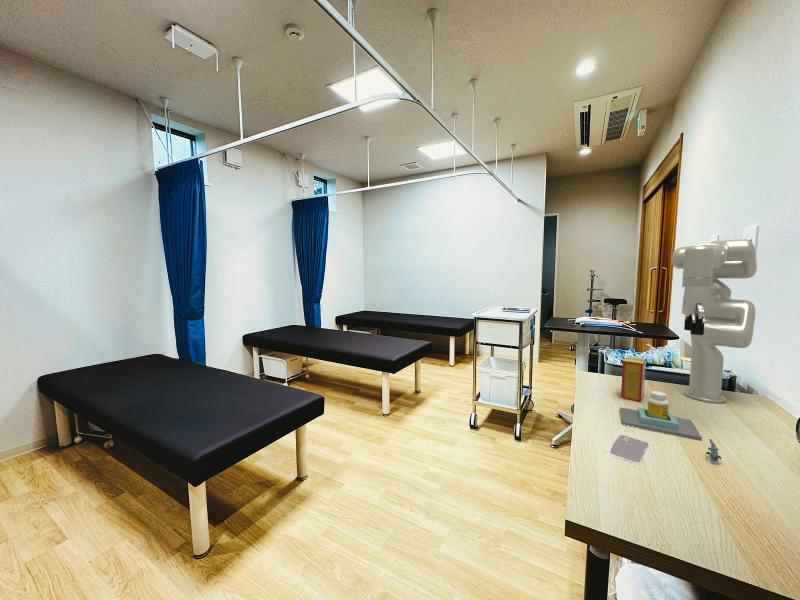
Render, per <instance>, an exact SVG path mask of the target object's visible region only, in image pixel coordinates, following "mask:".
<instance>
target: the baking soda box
mask: <svg viewBox="0 0 800 600" xmlns="http://www.w3.org/2000/svg"><path fill="white" fill-rule="evenodd" d="M646 362H647V360H646V358H642V357H641V358H639V357H633V356H625V358H624V359H623V360H622V369H621V370H622V372H621V388H620V389H621V390H620V391H621V392H620V399H621V398H623V399H622V400H626V399H627V400H628V401H631V400H632V402H635V401H636V403H640V404H641V403H642V401H643V398H644V393H645V381H646V380H645V379H646V378H645V377H646Z"/></svg>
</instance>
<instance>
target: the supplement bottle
mask: <svg viewBox="0 0 800 600" xmlns="http://www.w3.org/2000/svg"><path fill="white" fill-rule="evenodd" d="M650 396H651V397H649V398H648V401H647V409H648V414H647V417H651V418H657V419H662V420H668V412H669V401H668V400H667V394H666V393H665V392H661V391H656V390H655V391H654V390H653V391H651V392H650Z"/></svg>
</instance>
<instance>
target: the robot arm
mask: <svg viewBox="0 0 800 600" xmlns="http://www.w3.org/2000/svg"><path fill="white" fill-rule="evenodd" d="M757 262H758V261H757V252H756V247H755V245H754V243H753V242H752V241H751V240H749V239H729V240H726V239H725V240H715V241H710V242H709V243H708V242H707V243H701V244H696V245H689V246H682V247H678V248H676V249H675V250H674V251H673V252H672V255H671V264H672V266H673V267H674V268H676V269H682V283H681V287H682V288H684V291H683V296H682V297H683V298H682V304H681V305H682V307H681V314H683V315H684V326H683V329H684V331H689V332H690V341H691V342H690V343H691V354H690V355H691V356H690V370H689V372H690V373H689V386H688V389H684V390H683V394H684V395H685V396H687V397H688V398H691V399H694V400H698V401H702V402H706V403H713V404H714V403H715V404H722V403H723V404H724V403H726V402H727V398H726V396H724V395H722V387H723V385H722V384H723V372H724V371H723V370H724V363H725V362H724V361H725V359H724V355H723V354H722V352H721V351H720V349H718V347H719V346H720V347H729V348H736V349H746V348H748V347H750V346H751V344H752V340H753V336H754V335H753V334H754V329H755V322H756V321H755V320H756V306H755V304H754V303H753V302H752V301H750V300H746V299H736V298H735V299H734V298H731V295H732V289H731V288H730V287H729V286H728V285H727V284H726V283H724V282H723V281H721V280H720V279H750V278H753V277H754V276H755V275H756V272H757V268H758V265H757V264H758V263H757ZM717 346H718V347H717Z"/></svg>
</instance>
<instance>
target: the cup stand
mask: <svg viewBox="0 0 800 600" xmlns="http://www.w3.org/2000/svg"><path fill="white" fill-rule="evenodd" d="M620 413H621V415H620V420H621V421H622V422H621V425H622V424H625V425H624V426H626V425H629V426H628V427H631V426H634V427H633V428H636V427H639V428H638V429H641V428H643V429H642V430H646V429H647V430H648V431H652V432H656V431H657V433H662V434H665V435H666V434H667V435H671V436H677V437H682V438H687V439H691V440H696V441H701V442H702V441H703V436H702V435H701V434H700V432H699V430H698V428H697V427H696V426H695V424H694V422H693V421H692V419H688V418H682V417H678V416H675V414H674V413H673V412H669V411H668V420H662V419H657V418H651V417H647V414H648V408H645V407H639V406H638V407H637V409H632V408H626V407H622V406H621V407H619V414H620ZM647 430H646V431H647Z"/></svg>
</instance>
